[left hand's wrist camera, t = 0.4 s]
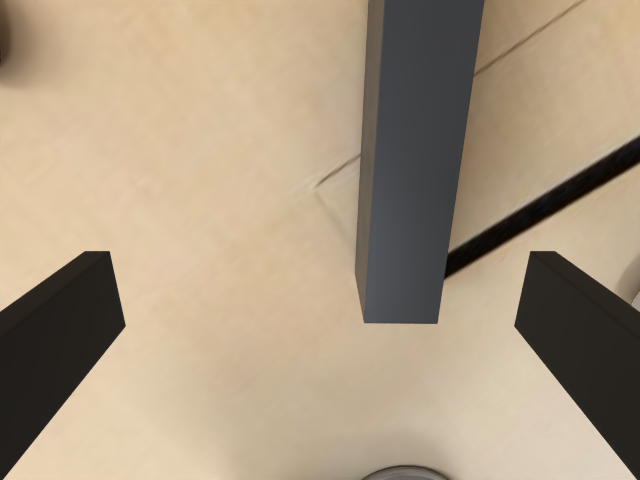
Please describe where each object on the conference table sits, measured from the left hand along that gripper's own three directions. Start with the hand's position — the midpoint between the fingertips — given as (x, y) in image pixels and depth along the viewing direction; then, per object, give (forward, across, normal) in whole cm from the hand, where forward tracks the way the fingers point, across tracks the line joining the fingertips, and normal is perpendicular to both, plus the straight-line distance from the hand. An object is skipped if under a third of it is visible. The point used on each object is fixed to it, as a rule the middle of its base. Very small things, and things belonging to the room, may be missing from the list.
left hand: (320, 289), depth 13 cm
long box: (+25, -7, -1) cm, 26 cm away
